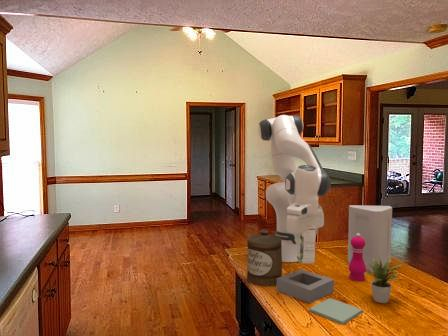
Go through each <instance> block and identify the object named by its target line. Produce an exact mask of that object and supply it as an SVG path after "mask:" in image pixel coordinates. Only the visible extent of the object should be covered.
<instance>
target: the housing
mask: <svg viewBox="0 0 448 336" xmlns="http://www.w3.org/2000/svg"><path fill="white" fill-rule="evenodd" d="M276 292H278V293H282V294H284V295H287V296H289V297H292V298H294V299H297V300H300V301H302V300H303V302H304V303H308V304H312V303H314V302H316V301H318V300H320V299H323V298H324V297H326V296H329V295H331V294H332V293H334V292H335V279H334V278H331V277H328V276H324V275H321V274H318V273H314V272H312V271H309V270H306V269H303V268H299V269H298V270H296V271H293V272H290V273H287V274H284V275H282V277H279V278H277V284H276Z"/></svg>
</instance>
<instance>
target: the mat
mask: <svg viewBox="0 0 448 336" xmlns="http://www.w3.org/2000/svg"><path fill="white" fill-rule="evenodd" d="M308 310H309V312H310V313H312V314H315V315H318V316H319V317H320V316H321V317H323V318H325V319H328V320H329V321H333V322H335V323H338V324H340V325H342V326H343V325H344V324H346V323H348V322H349V321H351V320H353V319H355V318H356V317H359V315H361V314H362V313H363V311H364V310H363V308H362V309H361V308H359V307H356V306H354V305H351V304H347V303H344V302H342V301H339V300H336V299H334V298H331V297H329V298H327V299H325V300H323V301H321V302H320V303H318V304H315V305H314V306H311V307H310V308H309V309H308Z"/></svg>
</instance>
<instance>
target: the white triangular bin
mask: <svg viewBox="0 0 448 336" xmlns="http://www.w3.org/2000/svg"><path fill="white" fill-rule="evenodd" d="M392 222H393V207H392V206H391V205H357V204H356V205H351V204H350V205H349V206H348V235H347V237H348V238H347V239H348V240H347V243H348V244H347V263H348V265H349V264H350V262H351V260H352V257H353V251H352V247H353V246H352V245H351V239H352V238H353V237H356V234H357V233H359V234H360V237H362V238H363V239H364V240H365V246H364V247H363V248H364V252H363V261H364V263H365V265H366V271H367V272H370V273H373V272H374V271H373V269H372V268H371V267H370V265H369V264H368V263H370V264H371V265H372V266H373V265H374V261H373V258H375V260H376V261H377V263H378V264H379V265H380V263H379V257H380V260H381V263H382V269H383V267H384V265H385V263H386V261H387V260H388V258H389V261H390V260H392V258H391V253H392V250H391V249H392ZM366 261H367V262H368V263H367V262H366ZM389 261H388V262H389ZM374 267H375V266H374ZM374 267H373V268H374Z"/></svg>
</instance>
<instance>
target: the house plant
mask: <svg viewBox="0 0 448 336" xmlns="http://www.w3.org/2000/svg"><path fill="white" fill-rule="evenodd" d="M373 261H374V265H373V266H372V265H371V264H370V263H368V262H367V261H366V262H367V263H368V264H369V265H370V267H371V268H372V269H373V271H374V272H371V271H366V272H364V274H367V275H370V276H372V277H373V278H374V280H373V281H371V282H370V284H371V291H372V297H373V298H372V299H373V301H374V302H377V303H380V304H387V303H388V302H389V300H390V294H391V290H392V286H393V285H392V284H391V283H389V282H391V281H392V280H394V281H395V282H398V280H397V279H396V278H397V277H398V276H397V275H399V274H400V273H399V272H397V273H393V271H394V270H400V269H402V268H401V266H402V264H398V265H394V266H393V267H391V262H392V261H393V259H391V260H390V261H389V258H388V260H387V261H386V263H385V265H384V267H383V269H382V263H381V260H380V257H379V263H380V265H379V264H378V263H377V261H376V260H375V258H373ZM388 261H389V262H388ZM374 266H375V267H374ZM373 267H374V268H373Z"/></svg>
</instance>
